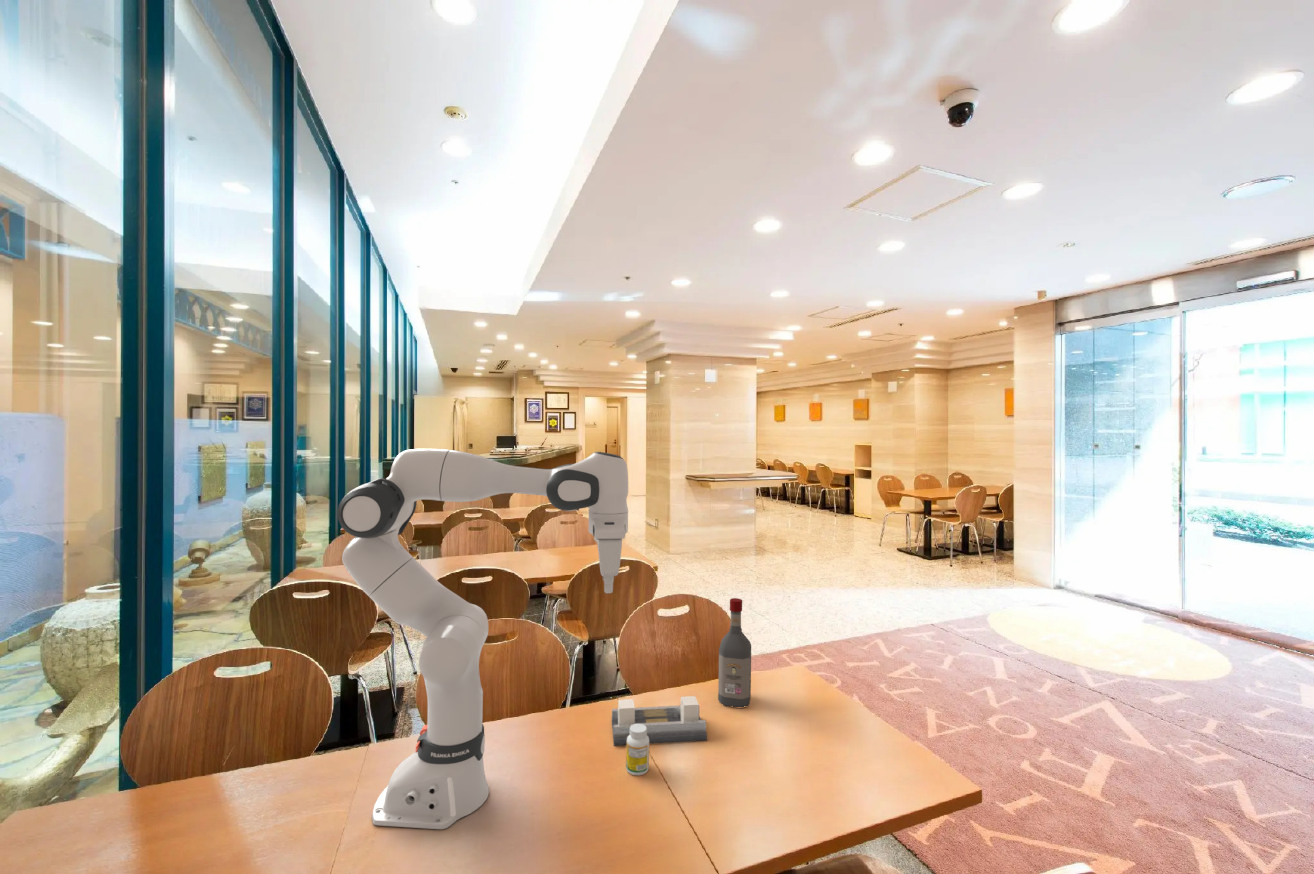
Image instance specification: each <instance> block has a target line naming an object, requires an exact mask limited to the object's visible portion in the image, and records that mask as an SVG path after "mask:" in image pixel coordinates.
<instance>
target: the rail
mask: <svg viewBox="0 0 1314 874" xmlns="http://www.w3.org/2000/svg"><path fill="white" fill-rule="evenodd" d="M680 713H681V704H680V705H663V706H645V707H643V706H641V707H635V724H643V725H645V726H646V727H647V734H646V735H647V736H648V737H649V745H653V744H656V745H657V744H671V743H673V744H674V743H686V742H703V741H706V742H707V741H708V734H707V721H706V720H705V719H701V716H700V715H699V720H694V721H681V719H680ZM631 725H633V724H619V725H618V708H612V709H611V729H612V741H613V746H614V747H617V746H618V747H619V746H620V747H621V746H627V737H628V736H629V735H630V726H631Z"/></svg>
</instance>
